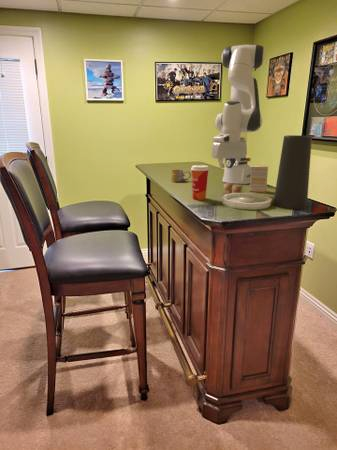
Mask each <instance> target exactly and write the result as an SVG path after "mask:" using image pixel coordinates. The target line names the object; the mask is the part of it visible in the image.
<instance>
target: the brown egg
mask: <svg viewBox="0 0 337 450" xmlns="http://www.w3.org/2000/svg"><path fill="white" fill-rule="evenodd" d="M232 193H242V185H240V184H239V185H238V184H237V185H235V184H234V185H232Z"/></svg>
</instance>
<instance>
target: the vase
mask: <svg viewBox="0 0 337 450" xmlns="http://www.w3.org/2000/svg"><path fill="white" fill-rule="evenodd" d="M312 139H313V137H312V136H311V135H291V134H290V135H284V136H283V141H282V146H281V147H282V149H281V154H280V159H279V160H280V161H279V165H278V172H277V178H276V184H275V189H274V198H273V201H272V204H273V206H274V207H276V208H280V209H285V210H304V209H306V208H308V207H307V206H308V198H309V197H308V195H309V184H310V183H309V181H310V169H311V167H310V166H311V157H312V156H311V154H312V142H313V141H312Z"/></svg>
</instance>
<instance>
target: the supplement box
mask: <svg viewBox="0 0 337 450" xmlns="http://www.w3.org/2000/svg"><path fill="white" fill-rule="evenodd" d="M250 167H251V175H250V183H249V193H264V194H266V193H267V189H268V185H267V184H268V172H269V165H251V166H250Z"/></svg>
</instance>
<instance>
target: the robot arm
mask: <svg viewBox="0 0 337 450" xmlns="http://www.w3.org/2000/svg"><path fill="white" fill-rule="evenodd" d="M265 58H266V53H265V49H264V46H263V45H260V44H239V45H233V46H232V45H229V46H227V47H224V49H223V51H222V53H221V63H222V66H223V67H224V68H225V69H228V71H227V73H228V74H227V78H228V79H227V80H228V82H229V84H230V85H231V88H230V97H229V98H230V101H226V102H224V105H223V109H222V112H220V113H218V114H217V116H216V118H215V121H214V123H215V127H216V130H217V131H218V132H219V134H217V135H215V136H213V138H212V141H213V143H212V146H211V157H212V159H217V161H218V163H219V169H224V170H223V177H222V181H221V182H223V183H230V184H234V185H235V184H237V185H238V184H239V185H240V184H241V185H242V184H243V185H248V184H250V175H251V166H250V165H249V164H248V162H251V157H247V154H248V151H247V150H248V149H247V148H248V145H247V140H246V138H245V137H243V136H241V135H242V133H253V132H258V131H259V130H260V129H261V127H262V126H263V117H262V113H261V110H260V109H261V108H260V96H259V95H260V94H259V88H258V87H259V85H258V80H257V79H256V78H255V77H253V69H254V72H256V71H257V69H259V68H260V67H261V66H262V65H263V63H264V61H265ZM224 160H225V162H224V163H223V161H224Z"/></svg>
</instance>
